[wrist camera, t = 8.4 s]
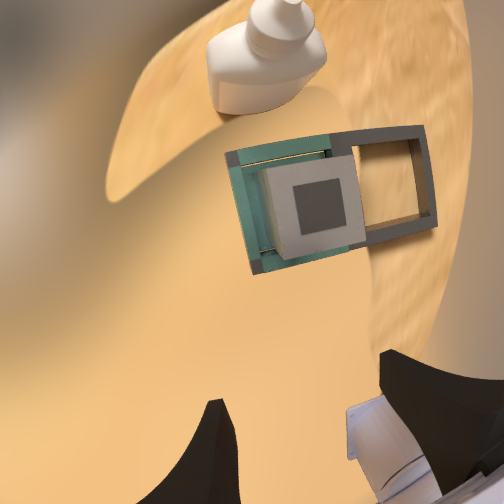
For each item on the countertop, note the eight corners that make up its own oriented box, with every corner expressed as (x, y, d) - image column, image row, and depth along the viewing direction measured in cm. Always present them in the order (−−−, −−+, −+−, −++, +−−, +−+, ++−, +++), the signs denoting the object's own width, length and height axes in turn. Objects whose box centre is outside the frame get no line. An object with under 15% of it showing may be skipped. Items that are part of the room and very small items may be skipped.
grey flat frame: (426, 223, 22) (438, 226, 20) (250, 268, 21) (253, 276, 20) (412, 127, 20) (424, 124, 19) (224, 154, 19) (224, 152, 18)
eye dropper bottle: (282, 132, 19) (360, 78, 8) (202, 109, 18) (183, 24, 7) (298, 77, 19) (377, -10, 7) (221, 55, 18) (228, -59, 6)
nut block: (327, 224, 21) (367, 241, 15) (265, 237, 21) (284, 260, 15) (316, 160, 20) (354, 154, 14) (252, 172, 20) (266, 168, 14)
